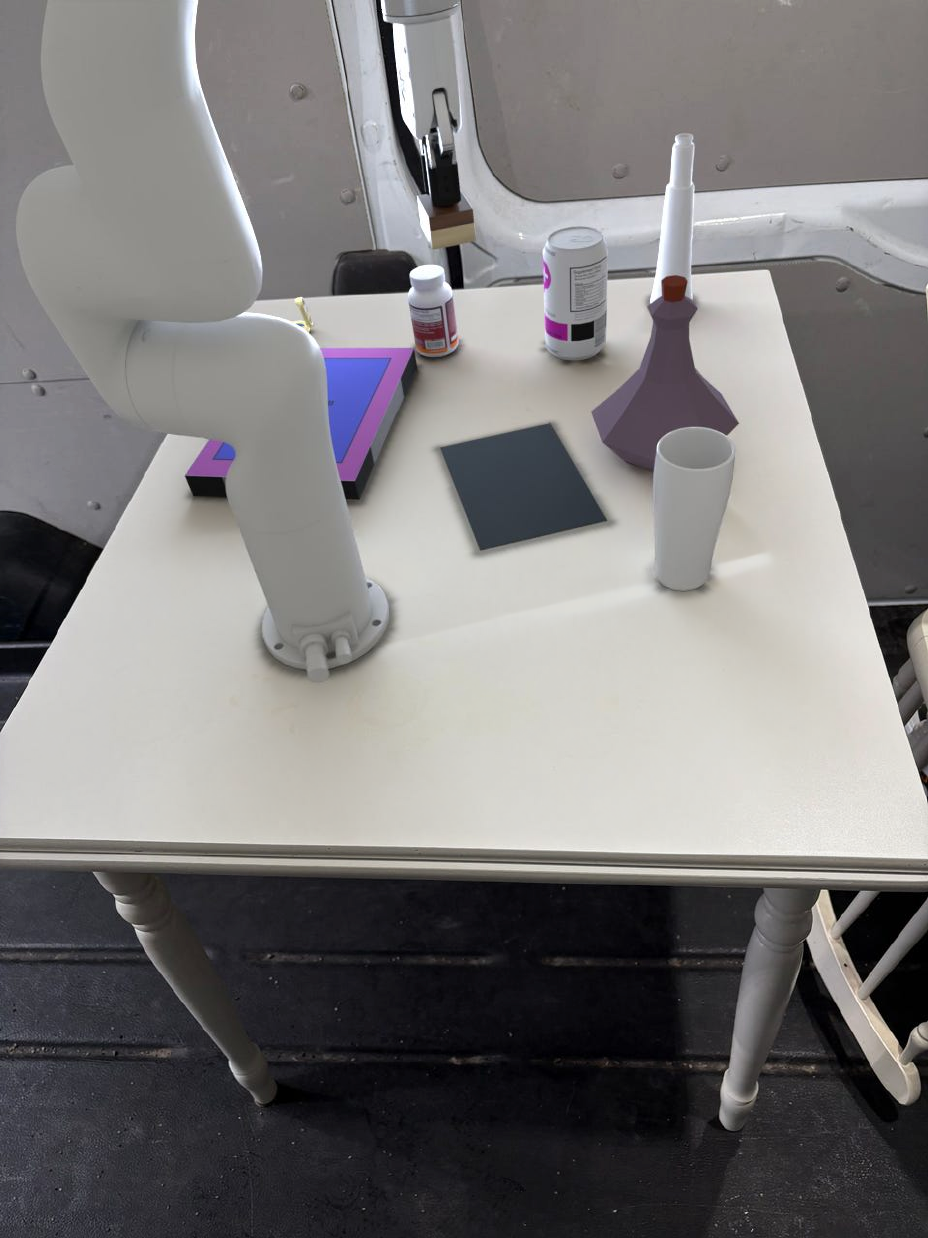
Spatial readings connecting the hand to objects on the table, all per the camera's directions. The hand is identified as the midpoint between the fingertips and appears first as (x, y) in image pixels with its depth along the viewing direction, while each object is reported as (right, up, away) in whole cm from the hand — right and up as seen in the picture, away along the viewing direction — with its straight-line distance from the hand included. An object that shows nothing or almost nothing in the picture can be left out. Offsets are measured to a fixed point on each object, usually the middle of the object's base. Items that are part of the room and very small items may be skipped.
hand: (443, 196), depth 93 cm
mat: (+9, -31, +3) cm, 33 cm away
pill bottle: (-1, -8, +27) cm, 28 cm away
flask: (+25, -27, +5) cm, 37 cm away
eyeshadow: (-23, -3, +35) cm, 42 cm away
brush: (+1, -3, +3) cm, 4 cm away
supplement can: (+18, -9, +23) cm, 31 cm away
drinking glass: (+24, -43, -10) cm, 50 cm away
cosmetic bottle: (+33, -1, +29) cm, 44 cm away
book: (-17, -22, +16) cm, 32 cm away
